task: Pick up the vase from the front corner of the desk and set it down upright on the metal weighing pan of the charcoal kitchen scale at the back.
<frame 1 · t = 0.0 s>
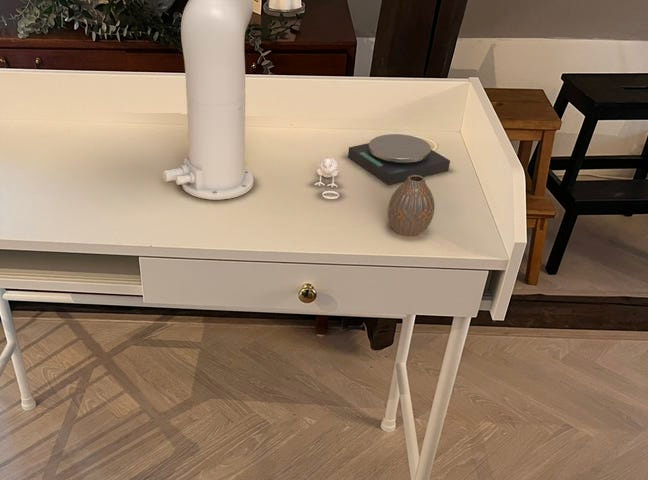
scale: (397, 164, 136), on the table
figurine: (327, 186, 129), on the table
scale pan: (399, 148, 134), point 3 cm above the table, slide at 0.1 cm
vase: (407, 231, 117), on the table
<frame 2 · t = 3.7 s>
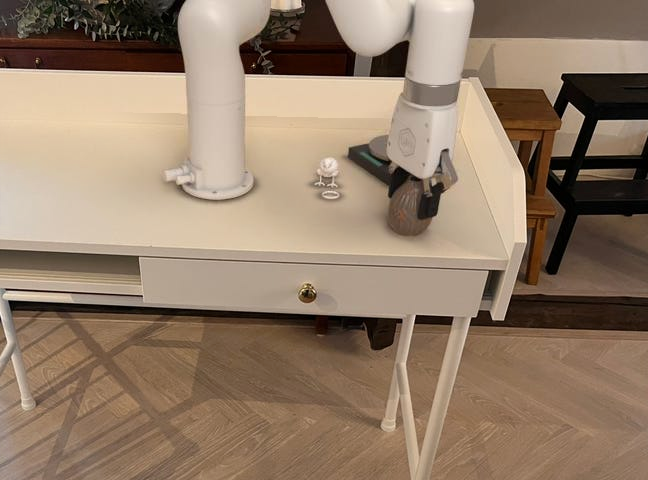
hand: (411, 205, 114), 4 cm above the table, tool pointing down, fingers closed on vase, 6 cm apart
vase: (407, 231, 117), on the table, touching gripper
everything else where it was.
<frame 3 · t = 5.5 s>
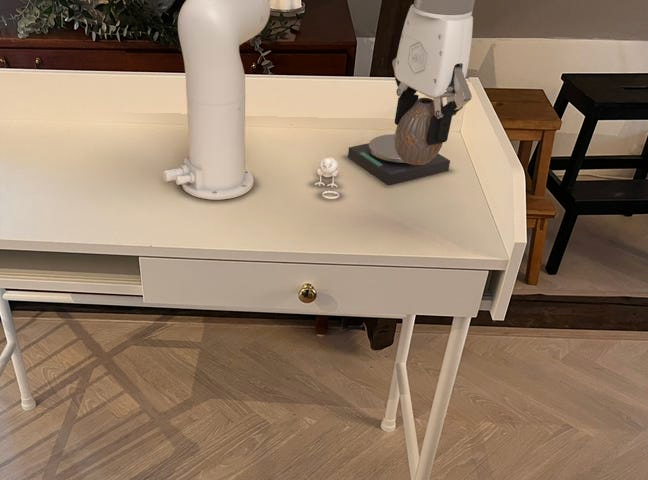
hand: (420, 131, 107), 16 cm above the table, tool pointing down, fingers closed on vase, 6 cm apart
vase: (414, 160, 110), point 11 cm above the table, touching gripper
everything else where it was.
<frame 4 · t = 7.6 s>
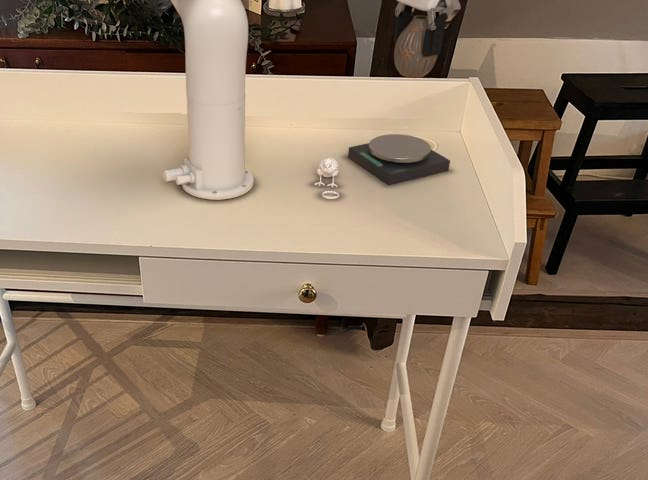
hand: (416, 47, 119), 22 cm above the table, tool pointing down, fingers closed on vase, 6 cm apart
vase: (412, 75, 122), point 17 cm above the table, touching gripper
everything else where it was.
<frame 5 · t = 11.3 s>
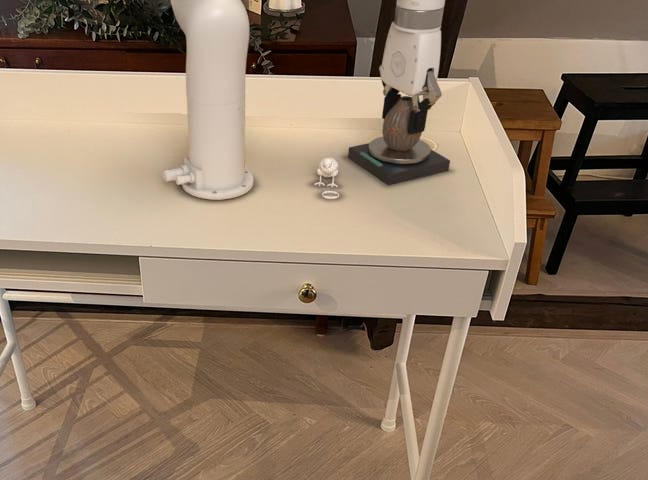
hand: (402, 124, 131), 7 cm above the table, tool pointing down, fingers closed on vase, 6 cm apart
scale pan: (399, 149, 134), point 3 cm above the table, slide at -0.1 cm, touching vase
vase: (399, 148, 134), point 3 cm above the table, touching gripper, scale pan
everything else where it was.
when the fingers open (7 cm above the table, at t = 11.5 s): vase stays where it is, resting on scale pan.
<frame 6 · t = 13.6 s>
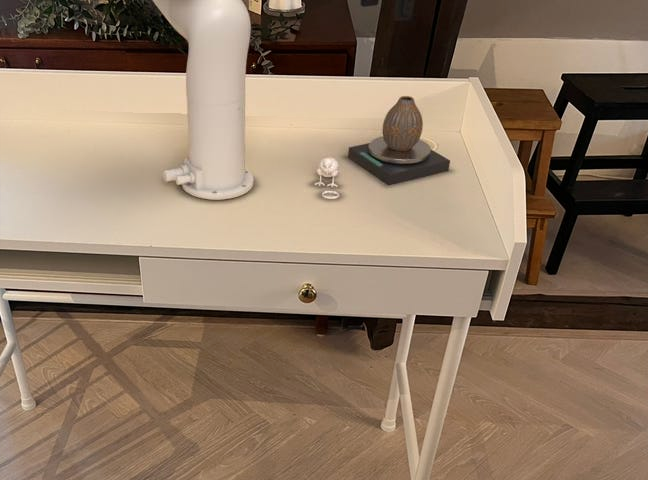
hand: (385, 12, 122), 25 cm above the table, tool pointing down, fingers open, 9 cm apart
vase: (399, 147, 134), point 3 cm above the table, touching scale pan
everything else where it was.
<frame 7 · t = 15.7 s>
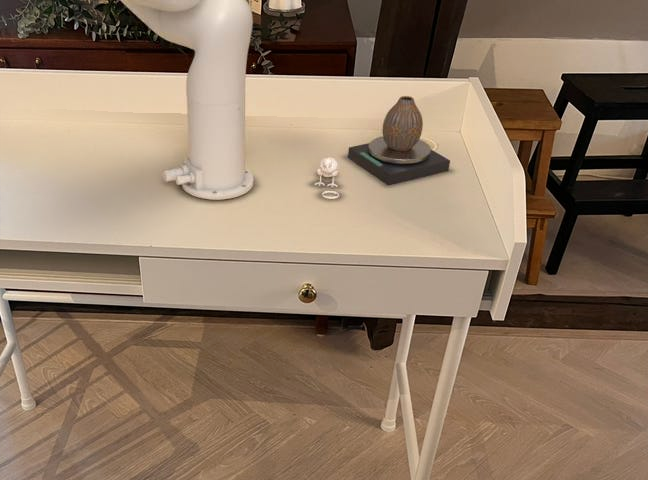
nothing on the table moved.
at the end: vase inside the target area on the scale (0.0 cm from its centre), point 3.1 cm above the scale's base; vase tilted 0°; the gripper is holding nothing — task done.
